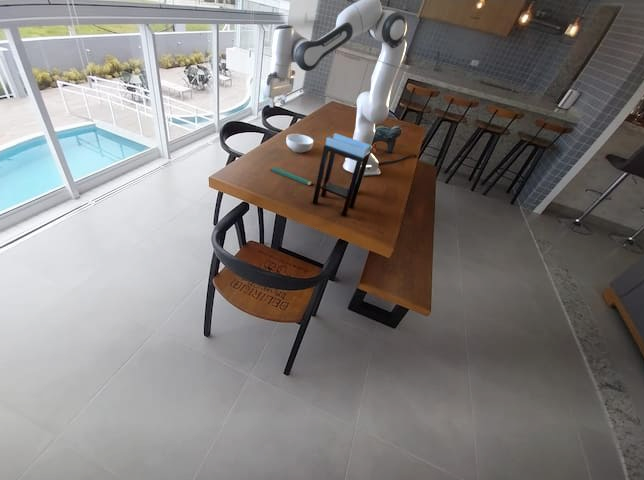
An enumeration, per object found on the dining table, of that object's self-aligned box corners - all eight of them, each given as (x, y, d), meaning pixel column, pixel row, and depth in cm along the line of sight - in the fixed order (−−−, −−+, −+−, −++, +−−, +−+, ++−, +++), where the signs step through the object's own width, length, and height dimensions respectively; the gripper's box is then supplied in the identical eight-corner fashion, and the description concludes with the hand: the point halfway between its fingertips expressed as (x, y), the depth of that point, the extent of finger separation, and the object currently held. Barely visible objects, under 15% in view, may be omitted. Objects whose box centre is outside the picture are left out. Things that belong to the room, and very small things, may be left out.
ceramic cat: (393, 151, 210) (404, 121, 197) (394, 155, 206) (405, 124, 192) (365, 146, 210) (374, 115, 197) (365, 149, 205) (375, 118, 192)
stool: (312, 203, 143) (323, 145, 125) (322, 194, 150) (334, 139, 132) (345, 216, 138) (361, 159, 120) (353, 207, 146) (370, 151, 128)
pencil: (271, 170, 162) (271, 168, 161) (274, 169, 164) (274, 166, 163) (310, 186, 155) (311, 183, 155) (312, 184, 157) (313, 182, 156)
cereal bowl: (309, 158, 182) (311, 146, 177) (282, 152, 182) (283, 140, 178) (313, 148, 194) (315, 136, 189) (288, 142, 195) (289, 131, 190)
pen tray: (325, 144, 126) (327, 137, 124) (333, 140, 131) (334, 133, 129) (363, 157, 121) (365, 150, 119) (369, 152, 126) (371, 145, 124)
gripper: (273, 75, 127) (271, 110, 136) (297, 70, 141) (293, 103, 150) (261, 71, 128) (259, 107, 138) (286, 67, 142) (282, 100, 152)
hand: (277, 105), depth 144 cm, fingers open, 8 cm apart
